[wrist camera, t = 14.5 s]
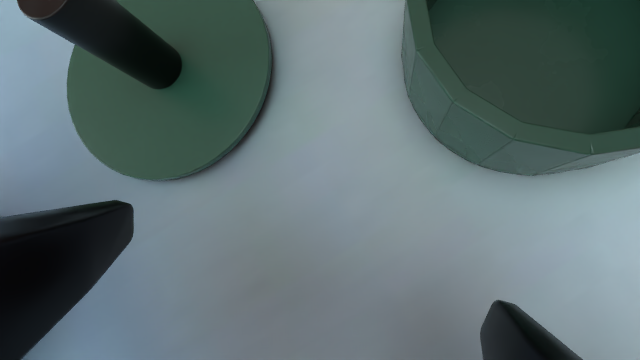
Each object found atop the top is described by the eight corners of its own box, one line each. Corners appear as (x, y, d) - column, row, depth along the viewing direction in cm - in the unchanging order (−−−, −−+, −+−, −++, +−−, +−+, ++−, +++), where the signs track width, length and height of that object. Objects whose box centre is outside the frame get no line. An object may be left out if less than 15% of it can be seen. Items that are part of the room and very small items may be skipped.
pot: (641, 202, 16) (773, 191, 10) (378, 145, 18) (374, 112, 13) (688, -43, 16) (833, -171, 11) (431, -64, 19) (448, -177, 14)
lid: (304, 135, 19) (244, 71, 11) (104, 212, 21) (-70, 204, 13) (240, -58, 21) (152, -224, 13) (65, 27, 23) (-103, -76, 15)
